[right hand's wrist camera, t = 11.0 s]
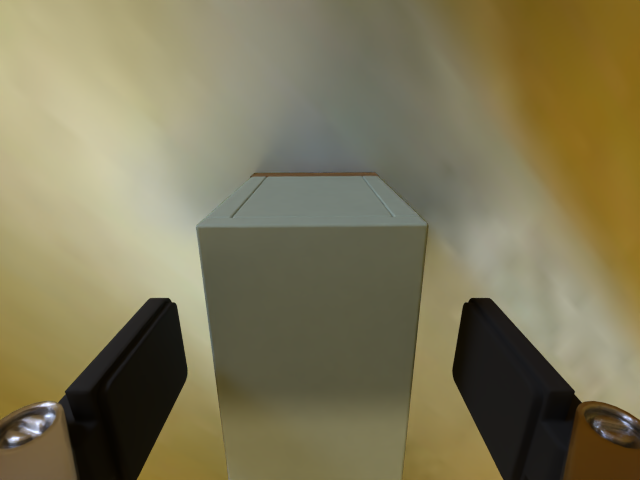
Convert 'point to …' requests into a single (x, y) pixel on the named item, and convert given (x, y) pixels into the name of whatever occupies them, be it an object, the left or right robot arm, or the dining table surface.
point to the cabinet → (313, 324)
